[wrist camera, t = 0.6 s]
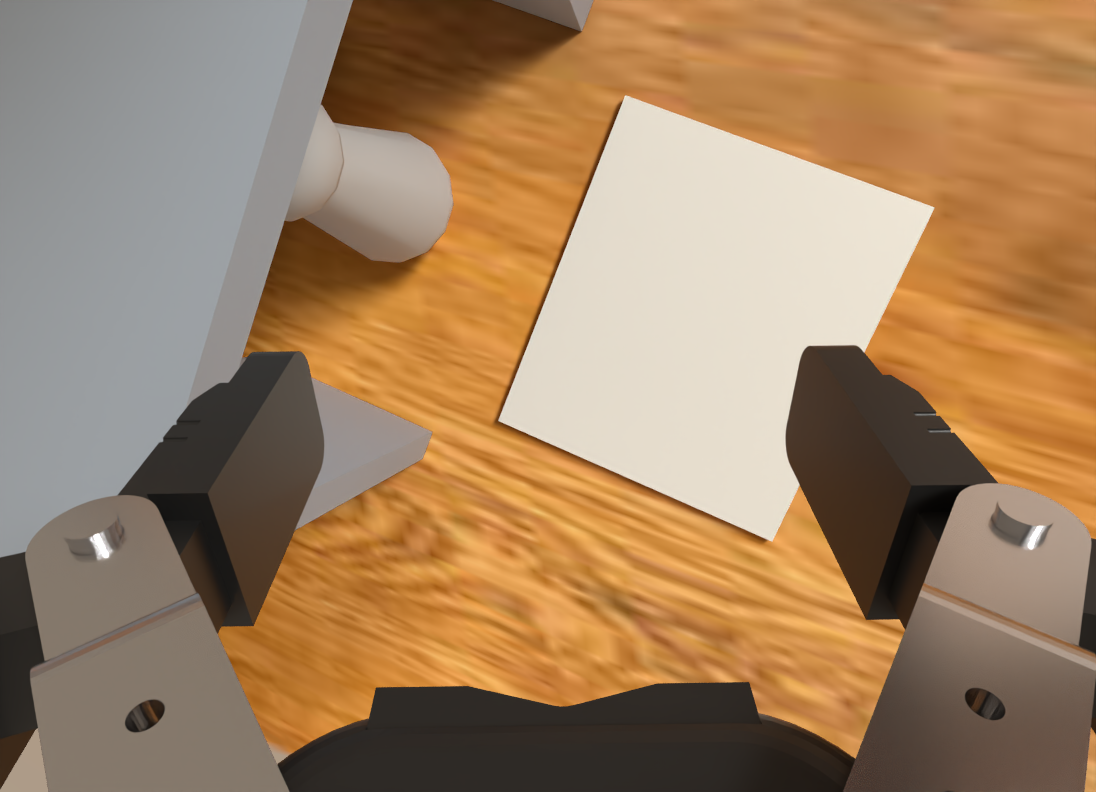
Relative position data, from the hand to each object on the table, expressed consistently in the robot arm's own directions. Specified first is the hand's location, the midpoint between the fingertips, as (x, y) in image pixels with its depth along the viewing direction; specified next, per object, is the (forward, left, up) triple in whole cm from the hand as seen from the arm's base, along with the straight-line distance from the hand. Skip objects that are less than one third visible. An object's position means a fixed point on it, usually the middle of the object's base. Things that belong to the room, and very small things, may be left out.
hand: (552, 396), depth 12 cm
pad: (-2, +2, -22) cm, 22 cm away
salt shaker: (-2, -13, -22) cm, 26 cm away
